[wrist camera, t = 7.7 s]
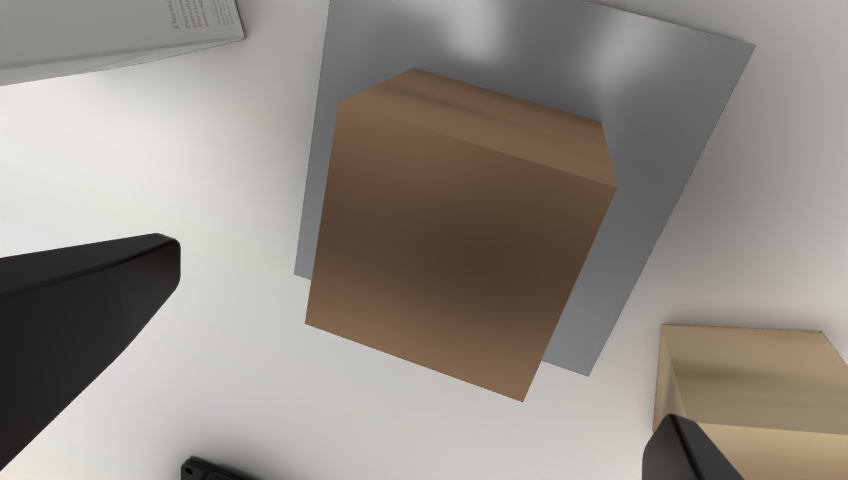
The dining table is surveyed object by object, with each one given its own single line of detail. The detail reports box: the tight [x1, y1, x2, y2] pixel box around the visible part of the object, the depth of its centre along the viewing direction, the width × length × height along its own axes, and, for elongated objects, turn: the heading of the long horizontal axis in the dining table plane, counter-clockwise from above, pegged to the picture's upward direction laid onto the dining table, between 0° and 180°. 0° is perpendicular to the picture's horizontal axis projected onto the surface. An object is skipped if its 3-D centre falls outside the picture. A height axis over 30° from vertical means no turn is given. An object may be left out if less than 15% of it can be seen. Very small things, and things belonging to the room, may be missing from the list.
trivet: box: [294, 0, 756, 376], centre depth 18 cm, size 12×12×1 cm
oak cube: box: [653, 325, 848, 480], centre depth 17 cm, size 5×5×5 cm
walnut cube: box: [305, 68, 617, 402], centre depth 15 cm, size 6×6×6 cm
